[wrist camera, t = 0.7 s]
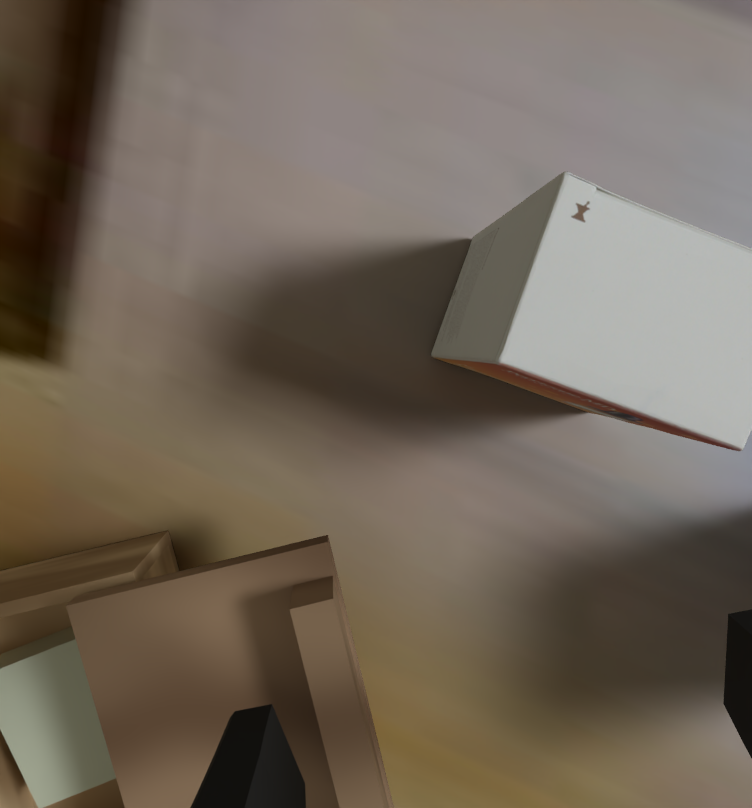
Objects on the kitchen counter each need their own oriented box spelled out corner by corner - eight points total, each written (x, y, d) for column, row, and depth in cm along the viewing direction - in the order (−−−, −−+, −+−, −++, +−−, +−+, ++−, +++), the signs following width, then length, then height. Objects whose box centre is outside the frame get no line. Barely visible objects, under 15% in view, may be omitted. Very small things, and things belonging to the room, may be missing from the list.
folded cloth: (168, 732, 28) (156, 762, 26) (59, 775, 28) (38, 809, 26) (113, 609, 27) (96, 630, 25) (1, 653, 27) (-25, 678, 25)
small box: (427, 356, 28) (487, 363, 17) (471, 233, 27) (560, 163, 17) (593, 416, 28) (748, 458, 18) (639, 298, 28) (823, 270, 18)
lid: (397, 823, 24) (406, 887, 21) (159, 887, 23) (136, 961, 20) (327, 534, 22) (327, 561, 20) (75, 596, 22) (38, 632, 19)
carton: (236, 782, 29) (216, 873, 24) (37, 834, 28) (-25, 938, 23) (168, 530, 27) (132, 571, 22) (-41, 580, 27) (-125, 633, 22)
